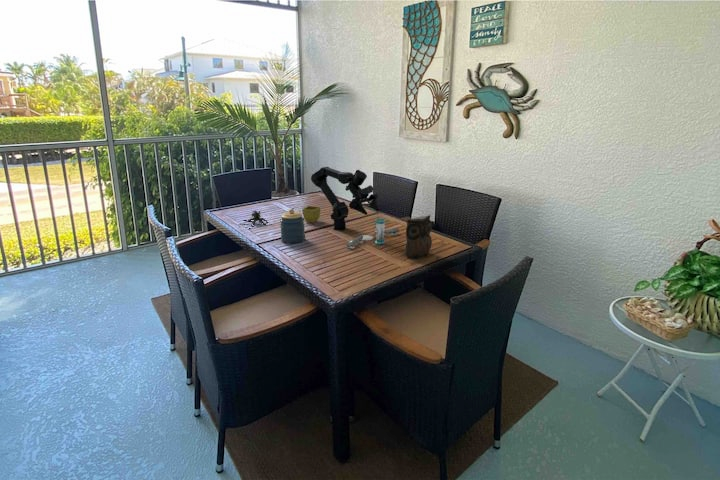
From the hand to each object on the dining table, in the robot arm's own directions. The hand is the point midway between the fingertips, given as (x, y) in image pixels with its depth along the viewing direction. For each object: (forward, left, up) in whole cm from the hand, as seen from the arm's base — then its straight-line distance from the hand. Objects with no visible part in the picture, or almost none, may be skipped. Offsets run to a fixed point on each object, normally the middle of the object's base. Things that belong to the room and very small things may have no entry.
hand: (372, 212), depth 215 cm
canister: (-43, -3, -15) cm, 46 cm away
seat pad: (-4, 0, -15) cm, 15 cm away
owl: (+21, -24, -15) cm, 35 cm away
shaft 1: (-9, -11, -15) cm, 20 cm away
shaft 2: (+8, +5, -15) cm, 17 cm away
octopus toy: (-72, +29, -15) cm, 79 cm away
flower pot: (-37, +32, -15) cm, 51 cm away
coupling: (+4, -8, -15) cm, 17 cm away
